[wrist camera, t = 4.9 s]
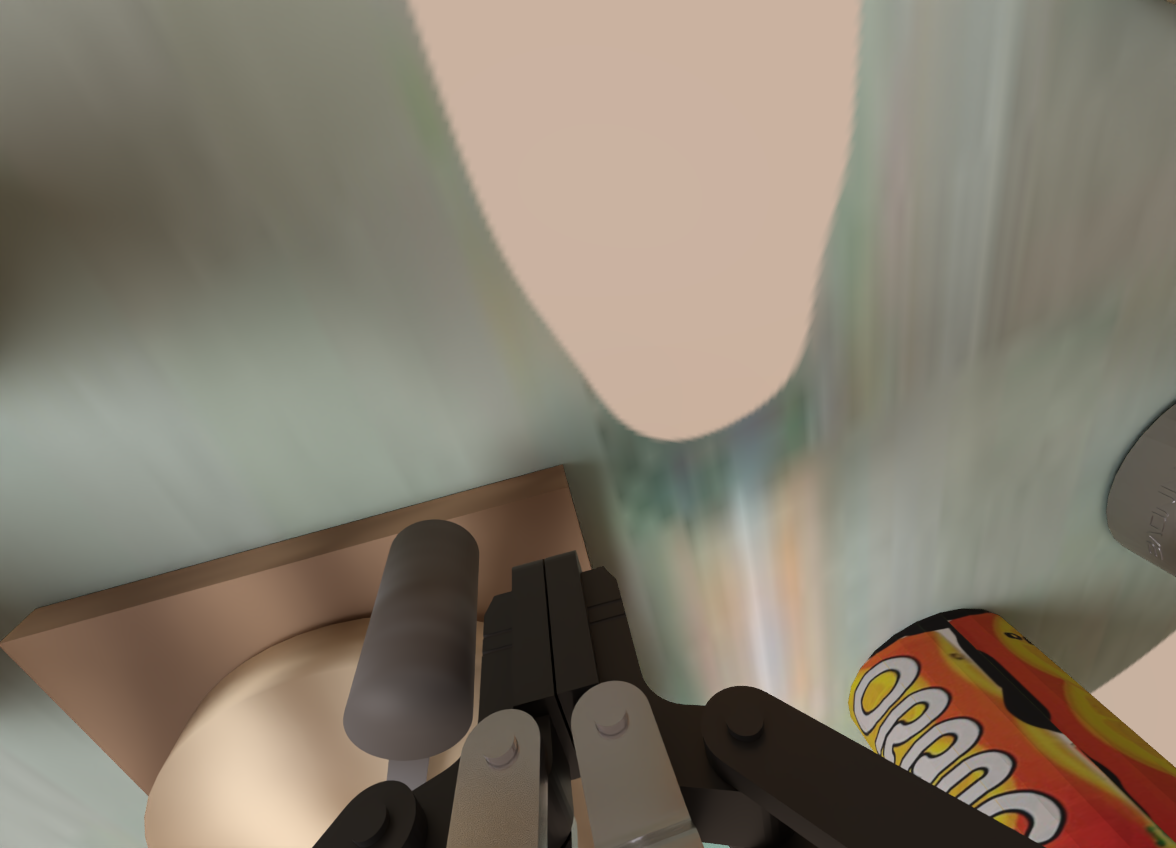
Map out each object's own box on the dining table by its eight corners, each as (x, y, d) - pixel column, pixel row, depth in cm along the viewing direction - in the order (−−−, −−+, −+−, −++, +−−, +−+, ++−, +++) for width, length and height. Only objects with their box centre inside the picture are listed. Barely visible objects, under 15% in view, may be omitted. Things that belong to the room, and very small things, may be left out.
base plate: (562, 464, 19) (568, 489, 17) (651, 784, 27) (661, 820, 25) (35, 608, 18) (-9, 649, 16) (295, 893, 26) (282, 938, 24)
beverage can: (1028, 587, 25) (1424, 889, 15) (1002, 710, 29) (1300, 1021, 18) (848, 639, 25) (1121, 992, 14) (847, 757, 29) (1059, 1104, 18)
